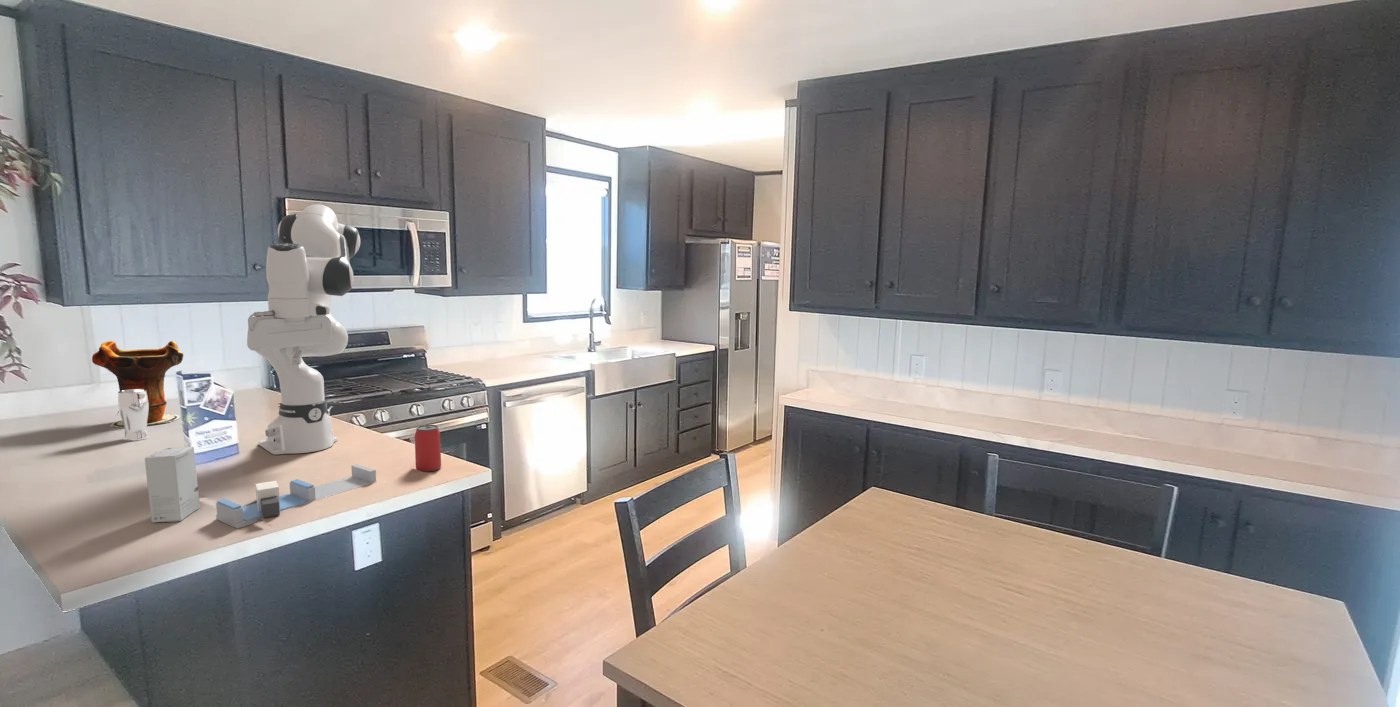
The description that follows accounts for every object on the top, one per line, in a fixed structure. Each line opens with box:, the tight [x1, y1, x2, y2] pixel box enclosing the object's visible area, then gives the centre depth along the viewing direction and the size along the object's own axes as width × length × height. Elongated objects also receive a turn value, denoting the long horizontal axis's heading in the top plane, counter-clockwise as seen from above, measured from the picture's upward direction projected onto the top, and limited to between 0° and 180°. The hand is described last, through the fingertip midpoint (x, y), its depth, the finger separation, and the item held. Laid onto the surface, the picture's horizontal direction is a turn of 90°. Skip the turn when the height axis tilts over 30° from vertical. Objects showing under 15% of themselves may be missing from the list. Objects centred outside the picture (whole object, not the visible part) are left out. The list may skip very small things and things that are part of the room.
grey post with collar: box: [255, 480, 281, 519], centre depth 147 cm, size 14×4×5 cm, turn 39°
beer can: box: [414, 424, 442, 473], centre depth 179 cm, size 7×7×12 cm
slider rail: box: [215, 463, 378, 530], centre depth 154 cm, size 9×32×4 cm, turn 150°
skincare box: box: [144, 446, 201, 523], centre depth 143 cm, size 8×6×15 cm
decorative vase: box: [91, 340, 184, 429], centre depth 217 cm, size 21×23×28 cm
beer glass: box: [117, 389, 151, 442], centre depth 198 cm, size 7×7×15 cm
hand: (293, 364), depth 161 cm, fingers closed
